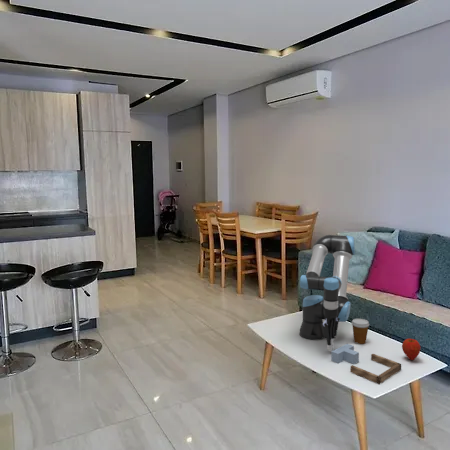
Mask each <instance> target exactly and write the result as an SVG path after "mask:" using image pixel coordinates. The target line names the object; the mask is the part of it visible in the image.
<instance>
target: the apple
mask: <svg viewBox="0 0 450 450" xmlns="http://www.w3.org/2000/svg"><path fill="white" fill-rule="evenodd" d="M401 348H402V351H403V353H404V355H405V356H406V357H407V359H408V360H410V361H414V360H415V359H416V358H417V357H418V356H419V354H420V353H421V348H422V347H421V345H420V343H419V342H418V340H416V339H413V338H406V339H404V340H403V341H402V344H401Z"/></svg>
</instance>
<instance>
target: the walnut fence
mask: <svg viewBox="0 0 450 450" xmlns="http://www.w3.org/2000/svg"><path fill="white" fill-rule="evenodd" d="M370 361H372V362H376V363H377V364H380V365H382V366H386V367H389V368H388V369H387V370H385V371H383V372H382V373H380V374H375V373H372V372H370V371H368V370H365V369H363V368H360V367H358V366H355V365H354V364H351V365H350V373H352V374H354V375H357V376H358V377H362V378H364V379H366V380H369V381H371V382H374V383H375V384H378V385H381V384H383V383H384V382H385V381H387V380H388V379H390V378H391V377H392V376H394V375H396V374H397V373H398V372H400V371H401V370H402V363H401V362H400V363H399V362H397V361H394V360H392V359H390V358H389V359H388V358H387V357H383V356H381V355H379V354H375V353H371V354H370Z"/></svg>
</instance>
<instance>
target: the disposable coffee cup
mask: <svg viewBox="0 0 450 450" xmlns="http://www.w3.org/2000/svg"><path fill="white" fill-rule="evenodd" d="M351 326H352V333H353V342H354V343H356V344H358V345H363V344H366V343H367V337H368V331H369V327H370V323H369V320H367V319H364V318H354V319H352V321H351Z"/></svg>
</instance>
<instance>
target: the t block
mask: <svg viewBox="0 0 450 450" xmlns="http://www.w3.org/2000/svg"><path fill="white" fill-rule="evenodd" d="M330 355H331V360H330V361H331V362H333V363H336V364H340V363H342V362H344V361H345V362H348V363H350V364H351V365H356V364H357V363H359V361H360V360H359V359H360V355H359V351H355V346H354V345H352V344H349V343H345V344H344V345H341V346H340V347H338V348H336V349H333V351H331V354H330Z"/></svg>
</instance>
